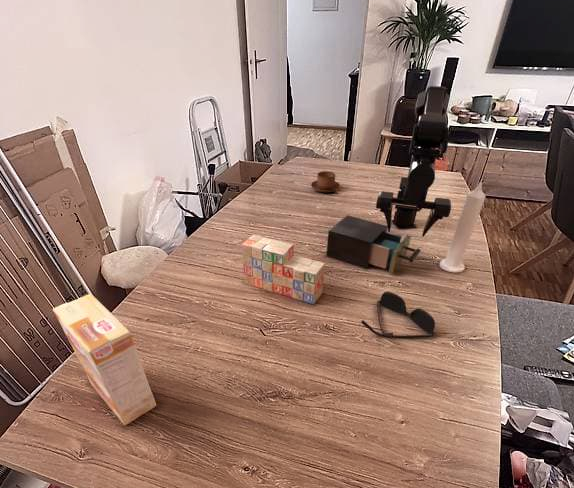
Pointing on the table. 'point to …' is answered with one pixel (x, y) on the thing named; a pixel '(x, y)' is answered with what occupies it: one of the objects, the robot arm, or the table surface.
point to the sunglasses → (398, 305)
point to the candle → (464, 231)
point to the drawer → (382, 253)
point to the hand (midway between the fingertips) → (405, 233)
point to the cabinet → (353, 240)
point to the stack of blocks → (281, 269)
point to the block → (390, 245)
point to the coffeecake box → (107, 356)
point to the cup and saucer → (325, 182)
